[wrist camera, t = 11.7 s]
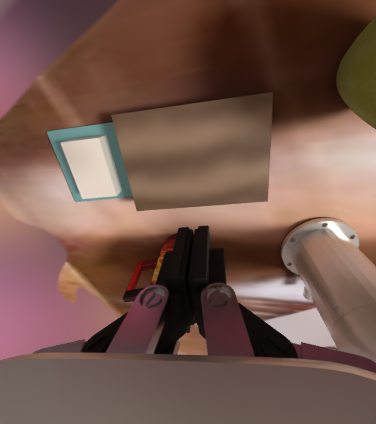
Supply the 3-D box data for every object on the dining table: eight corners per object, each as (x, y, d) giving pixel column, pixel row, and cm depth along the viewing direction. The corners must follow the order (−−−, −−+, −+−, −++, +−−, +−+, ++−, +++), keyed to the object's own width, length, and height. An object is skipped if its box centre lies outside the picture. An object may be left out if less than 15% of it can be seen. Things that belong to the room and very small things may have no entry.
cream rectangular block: (82, 199, 35) (89, 193, 37) (116, 196, 34) (122, 190, 36) (60, 142, 31) (70, 139, 33) (98, 137, 30) (106, 135, 32)
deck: (261, 190, 34) (267, 201, 31) (143, 200, 37) (136, 211, 34) (265, 92, 28) (273, 92, 24) (122, 113, 31) (111, 115, 27)
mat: (139, 195, 37) (139, 196, 36) (76, 200, 38) (75, 201, 38) (120, 121, 31) (120, 121, 31) (48, 131, 33) (46, 131, 33)
